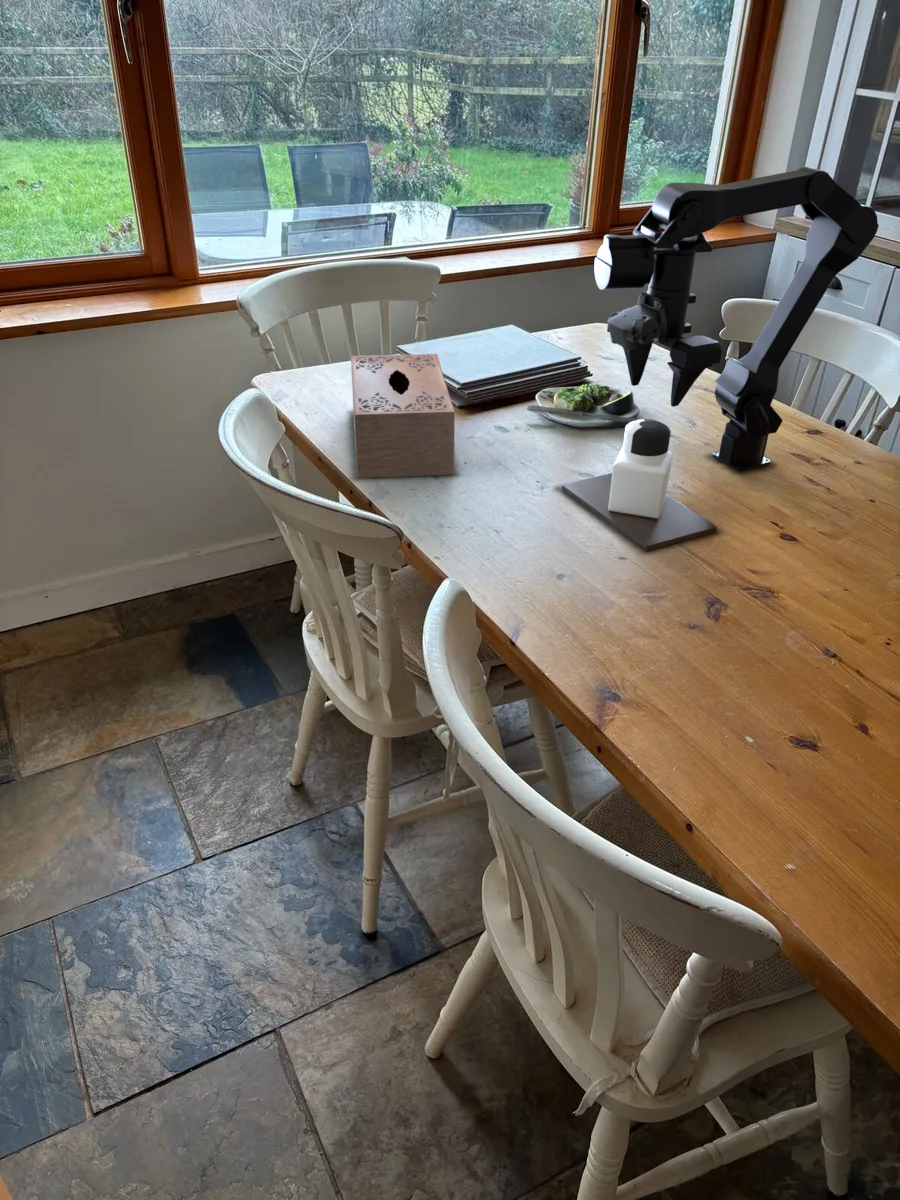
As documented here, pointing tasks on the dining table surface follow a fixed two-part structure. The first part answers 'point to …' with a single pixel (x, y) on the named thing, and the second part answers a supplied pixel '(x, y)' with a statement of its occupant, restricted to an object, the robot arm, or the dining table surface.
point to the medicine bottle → (642, 470)
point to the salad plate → (586, 406)
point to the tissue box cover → (402, 416)
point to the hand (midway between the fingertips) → (654, 395)
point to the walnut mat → (640, 530)
